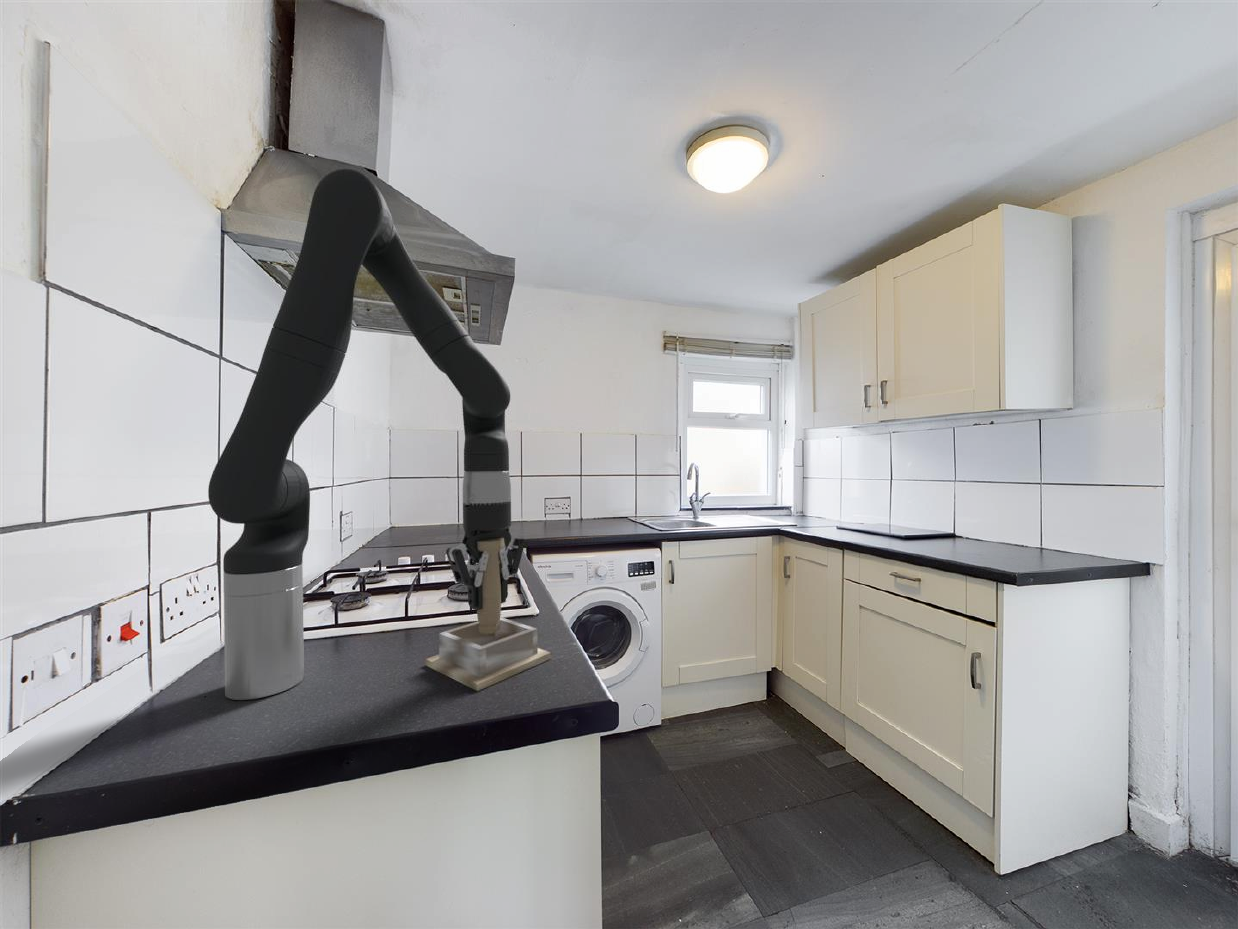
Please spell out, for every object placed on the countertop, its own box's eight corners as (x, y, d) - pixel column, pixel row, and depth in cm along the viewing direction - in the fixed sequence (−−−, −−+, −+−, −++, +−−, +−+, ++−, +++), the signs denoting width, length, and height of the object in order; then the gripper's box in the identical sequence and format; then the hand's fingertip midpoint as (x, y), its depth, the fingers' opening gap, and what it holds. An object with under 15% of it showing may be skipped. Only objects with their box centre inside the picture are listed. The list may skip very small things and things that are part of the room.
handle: (501, 623, 80) (500, 535, 80) (507, 636, 74) (506, 540, 74) (472, 627, 79) (471, 536, 79) (475, 640, 73) (474, 542, 73)
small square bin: (425, 665, 76) (425, 634, 76) (498, 639, 87) (497, 612, 87) (477, 691, 67) (477, 655, 67) (550, 658, 78) (550, 628, 78)
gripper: (508, 495, 84) (509, 592, 84) (433, 501, 73) (435, 612, 73) (536, 497, 80) (537, 599, 80) (461, 503, 69) (462, 622, 69)
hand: (488, 605), depth 77 cm, fingers closed on handle, 4 cm apart
